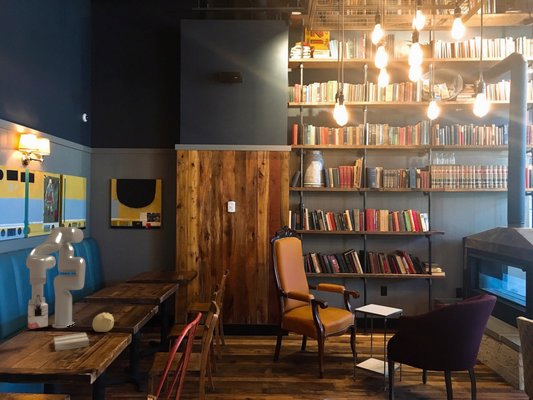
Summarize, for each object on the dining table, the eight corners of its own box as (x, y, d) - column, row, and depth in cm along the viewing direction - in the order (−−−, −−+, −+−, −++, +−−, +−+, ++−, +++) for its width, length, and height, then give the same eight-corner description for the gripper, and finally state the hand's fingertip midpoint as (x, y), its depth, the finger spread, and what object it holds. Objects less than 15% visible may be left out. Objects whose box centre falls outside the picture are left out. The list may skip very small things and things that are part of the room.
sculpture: (113, 332, 248) (113, 314, 248) (91, 334, 244) (91, 315, 244) (114, 327, 259) (114, 309, 259) (93, 329, 255) (93, 311, 255)
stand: (53, 342, 229) (53, 337, 229) (85, 338, 237) (85, 332, 237) (55, 351, 216) (55, 345, 216) (89, 346, 223) (89, 340, 223)
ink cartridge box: (30, 329, 220) (30, 301, 220) (27, 327, 224) (27, 299, 223) (48, 325, 226) (48, 298, 226) (45, 323, 230) (45, 297, 229)
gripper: (29, 278, 230) (29, 311, 230) (29, 284, 215) (30, 319, 215) (45, 277, 234) (45, 309, 234) (46, 283, 219) (46, 317, 219)
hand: (38, 314), depth 225 cm, fingers closed on ink cartridge box, 5 cm apart
